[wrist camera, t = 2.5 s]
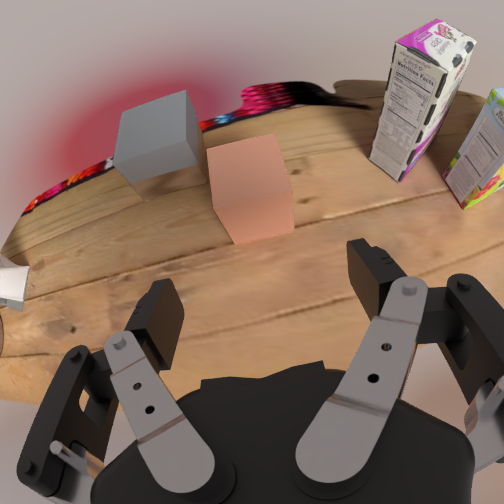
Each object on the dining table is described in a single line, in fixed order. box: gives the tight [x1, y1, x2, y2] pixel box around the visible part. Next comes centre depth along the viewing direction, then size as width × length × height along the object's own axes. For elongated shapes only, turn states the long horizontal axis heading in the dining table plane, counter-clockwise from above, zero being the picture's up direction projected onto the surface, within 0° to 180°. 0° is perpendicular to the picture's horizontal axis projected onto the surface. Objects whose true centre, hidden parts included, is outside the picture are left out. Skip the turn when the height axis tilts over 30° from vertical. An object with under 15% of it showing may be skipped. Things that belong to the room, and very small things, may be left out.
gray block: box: [113, 90, 199, 184], centre depth 28 cm, size 8×8×4 cm
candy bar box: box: [368, 19, 476, 183], centre depth 22 cm, size 11×5×16 cm, turn 134°
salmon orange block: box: [206, 133, 294, 244], centre depth 26 cm, size 6×6×8 cm
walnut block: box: [130, 122, 207, 200], centre depth 32 cm, size 8×8×4 cm
